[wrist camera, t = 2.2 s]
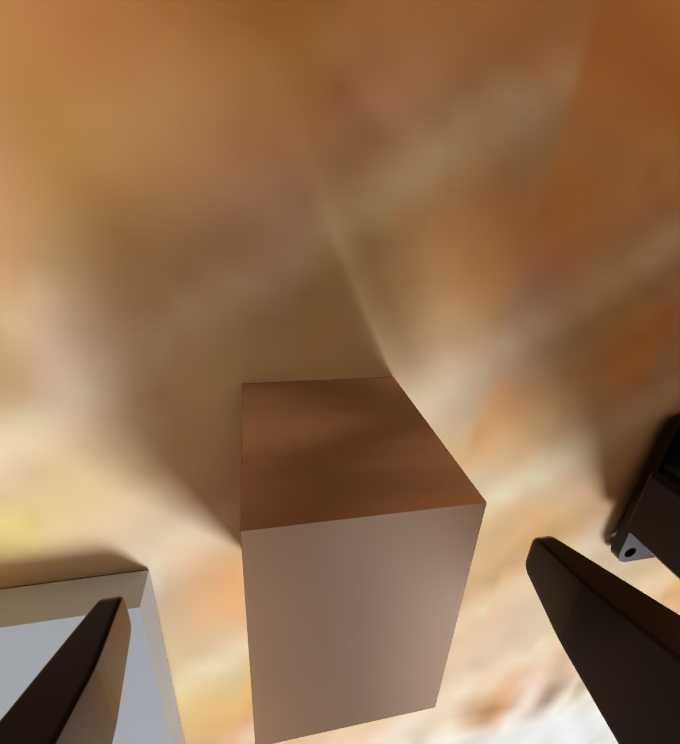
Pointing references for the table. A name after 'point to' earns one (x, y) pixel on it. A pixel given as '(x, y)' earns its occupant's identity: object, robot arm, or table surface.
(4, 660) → the build board
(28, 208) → the table surface
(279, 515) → the walnut brick
